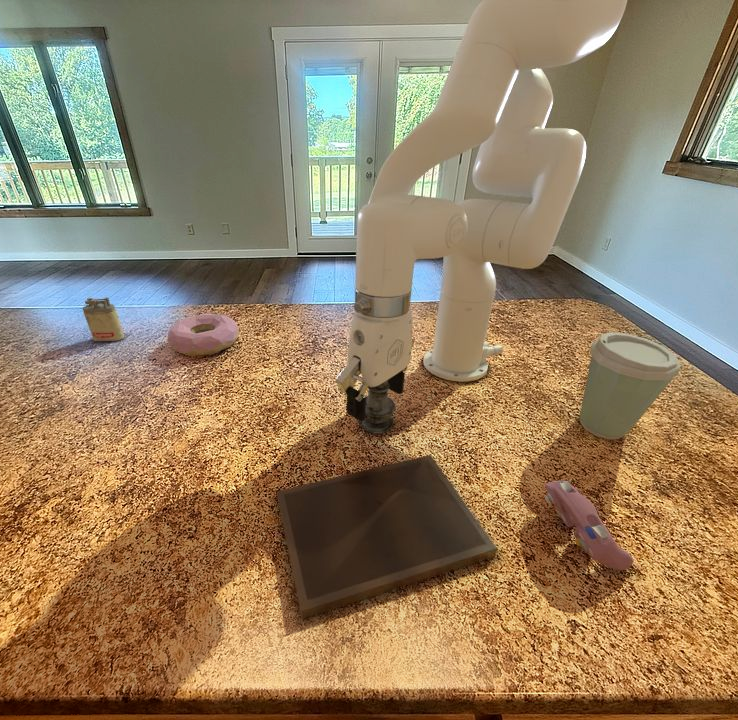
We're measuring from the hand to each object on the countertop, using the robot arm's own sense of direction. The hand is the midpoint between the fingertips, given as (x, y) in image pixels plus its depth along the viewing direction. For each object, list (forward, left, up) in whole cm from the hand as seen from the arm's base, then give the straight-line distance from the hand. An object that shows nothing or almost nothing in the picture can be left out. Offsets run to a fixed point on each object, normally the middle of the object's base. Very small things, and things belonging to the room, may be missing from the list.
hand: (375, 403), depth 60 cm
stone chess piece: (0, 0, -4) cm, 4 cm away
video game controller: (-15, +26, -4) cm, 30 cm away
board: (+7, +18, -4) cm, 19 cm away
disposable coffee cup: (-34, +12, -4) cm, 37 cm away
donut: (+27, -38, -4) cm, 47 cm away
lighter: (+49, -48, -4) cm, 69 cm away
